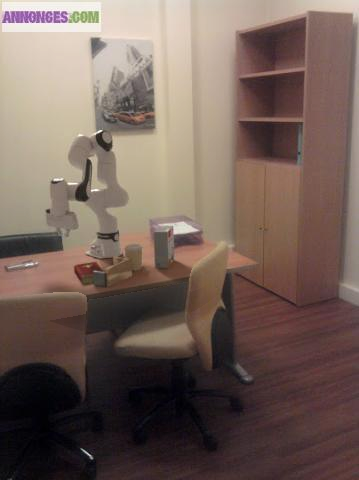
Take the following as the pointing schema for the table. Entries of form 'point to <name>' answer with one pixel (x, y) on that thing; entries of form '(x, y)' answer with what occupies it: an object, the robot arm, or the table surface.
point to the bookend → (100, 278)
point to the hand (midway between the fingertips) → (63, 236)
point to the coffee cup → (134, 255)
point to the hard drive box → (164, 246)
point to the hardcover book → (87, 271)
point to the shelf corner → (118, 270)
